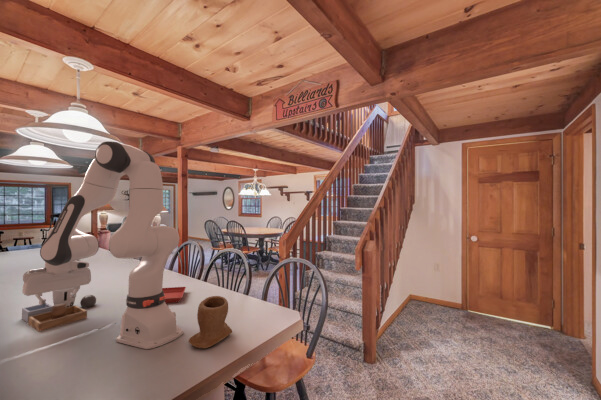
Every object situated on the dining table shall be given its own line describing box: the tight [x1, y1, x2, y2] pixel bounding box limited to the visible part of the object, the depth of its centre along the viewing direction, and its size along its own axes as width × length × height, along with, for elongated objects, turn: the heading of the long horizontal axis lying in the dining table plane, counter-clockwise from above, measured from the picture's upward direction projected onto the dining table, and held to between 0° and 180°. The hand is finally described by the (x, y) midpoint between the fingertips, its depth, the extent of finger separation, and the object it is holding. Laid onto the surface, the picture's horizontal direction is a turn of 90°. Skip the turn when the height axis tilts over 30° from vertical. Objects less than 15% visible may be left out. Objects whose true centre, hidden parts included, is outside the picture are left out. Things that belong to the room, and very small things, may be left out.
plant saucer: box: [162, 286, 187, 304], centre depth 134 cm, size 18×18×3 cm
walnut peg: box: [51, 304, 66, 320], centre depth 105 cm, size 4×4×6 cm
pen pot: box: [21, 302, 53, 324], centre depth 107 cm, size 7×7×5 cm
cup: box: [52, 287, 76, 307], centre depth 117 cm, size 8×8×10 cm
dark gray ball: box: [79, 294, 97, 309], centre depth 120 cm, size 6×6×6 cm
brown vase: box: [188, 295, 233, 349], centre depth 93 cm, size 15×12×15 cm
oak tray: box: [27, 304, 88, 332], centre depth 105 cm, size 11×14×4 cm
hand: (58, 300), depth 105 cm, fingers open, 8 cm apart
